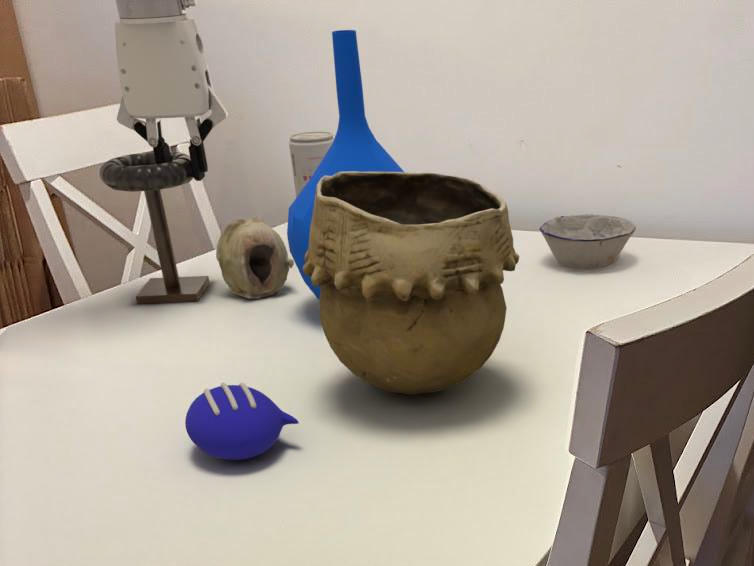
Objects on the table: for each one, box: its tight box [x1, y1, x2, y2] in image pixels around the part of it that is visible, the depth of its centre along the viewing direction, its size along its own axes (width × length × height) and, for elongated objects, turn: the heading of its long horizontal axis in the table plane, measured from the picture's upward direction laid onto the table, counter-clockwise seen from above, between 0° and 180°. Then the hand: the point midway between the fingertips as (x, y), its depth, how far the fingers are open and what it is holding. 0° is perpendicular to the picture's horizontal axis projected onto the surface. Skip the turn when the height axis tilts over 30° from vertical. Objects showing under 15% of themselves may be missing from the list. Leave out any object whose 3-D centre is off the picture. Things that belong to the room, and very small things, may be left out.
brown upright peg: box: [135, 189, 211, 305], centre depth 128 cm, size 8×8×15 cm
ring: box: [99, 151, 194, 193], centre depth 123 cm, size 12×12×3 cm
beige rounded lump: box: [215, 215, 295, 300], centre depth 129 cm, size 9×8×10 cm
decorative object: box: [184, 381, 299, 461], centre depth 91 cm, size 10×6×10 cm
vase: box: [286, 29, 405, 302], centre depth 116 cm, size 18×18×30 cm
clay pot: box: [303, 171, 520, 395], centre depth 97 cm, size 21×21×20 cm
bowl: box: [539, 213, 637, 270], centre depth 136 cm, size 13×13×5 cm
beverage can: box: [288, 130, 335, 198], centre depth 145 cm, size 7×6×15 cm
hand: (184, 177), depth 124 cm, fingers closed on ring, 3 cm apart
